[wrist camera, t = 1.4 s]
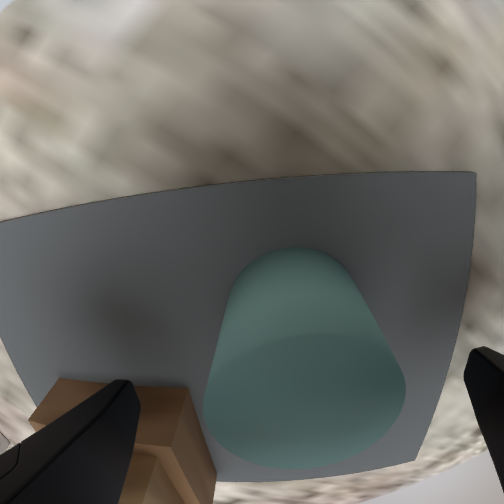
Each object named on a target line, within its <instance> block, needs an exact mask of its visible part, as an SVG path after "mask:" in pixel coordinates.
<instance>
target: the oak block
mask: <svg viewBox="0 0 504 504" xmlns="http://www.w3.org/2000/svg"><path fill="white" fill-rule="evenodd" d="M118 504H185V503H184V502H183V500H182V498H181V497H180V495H179V493H178V492H177V490H176V489H175V487H174V485H173V484H172V482H171V480H170V478H169V477H168V475H167V473H166V472H165V470H164V468H163V466H162V464H161V463H160V461H159V459H158V457H156V456H148V455H140V454H132V458H131V462H130V465H129V469H128V472H127V475H126V479H125V482H124V486H123V489H122V493H121V496H120V500H119V503H118Z"/></svg>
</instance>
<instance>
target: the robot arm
mask: <svg viewBox="0 0 504 504" xmlns="http://www.w3.org/2000/svg"><path fill="white" fill-rule="evenodd" d="M464 382H465V385H466V388H467V391H468V394H469V397H470V400H471V403H472V406H473V409H474V413H475V416H476V419H477V422H478V425H479V427H480V430H481V432H482V435H483V437H484V440H485V442H486V445H487V447H488V450H489V452H490V455H491V458H492V460H493V463H494V465H495V469H496V471H497V474H498V477H499V480H500V483H501V486H502V489H503V492H504V355H503V354H501V353H498V352H496V351H494V350H492V349H490V348H487V347H485V346H482V347H478V348H475V349H473V350H472V351H471V352H470V354H469V357H468V361H467V364H466V367H465V370H464ZM140 412H141V403H140V400H139V398H138V395H137V393H136V390H135V388H134V386H133V383H132V382H131V381H130V380H125V379H116V380H114V381H112V382H111V383H109V384H108V385H106V386H105V387H103V388H102V389H100V390H99V391H98V392H96V393H95V394H93V395H92V396H90V397H89V398H87V399H86V400H84V401H83V402H81V403H80V404H78V405H77V406H75V407H74V408H72V409H71V410H69V411H68V412H66V413H65V414H63V415H62V416H60V417H59V418H57V419H56V420H54V421H52V422H51V423H49V424H48V425H46V426H45V427H43V428H42V429H40V430H39V431H37V432H36V433H34V434H33V435H31V436H29V437H28V438H26V439H25V440H23V441H22V442H21V443H18V444H17V445H15V446H14V447H12V448H11V449H9V450H7V451H6V452H4V453H2V454H1V455H0V504H118V503H119V500H120V496H121V493H122V489H123V486H124V482H125V479H126V475H127V472H128V469H129V465H130V462H131V458H132V454H133V449H134V444H135V438H136V433H137V427H138V422H139V417H140Z"/></svg>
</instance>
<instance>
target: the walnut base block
mask: <svg viewBox="0 0 504 504" xmlns="http://www.w3.org/2000/svg"><path fill="white" fill-rule="evenodd" d="M106 385H108V383H98V382H89V381H81V380H73V379H65V378H59V379H58V380H57V381H56V383H55V384H54V385H53V387H52V388H51V389H50V391H49V392H48V393H47V395H46V396H45V397H44V399H43V400H42V402H41V403H40V404H39V406H38V407H37V408H36V410H35V411H34V413H33V414H32V415H31V417H30V418H29V420H28V421H29V422H30V424H31V425H32V427H33V428H34V430H35V431H36V432H37V431H39V430H40V429H42V428H43V427H45V426H46V425H48V424H49V423H51V422H52V421H54V420H56V419H57V418H59V417H60V416H62V415H63V414H65V413H66V412H68V411H69V410H71V409H72V408H74V407H75V406H77V405H78V404H80V403H81V402H83V401H84V400H86V399H87V398H89V397H90V396H92V395H93V394H95V393H96V392H98V391H99V390H100V389H102V388H103V387H105V386H106ZM134 388H135V390H136V393H137V395H138V398H139V400H140V403H141V412H140V417H139V422H138V427H137V433H136V438H135V444H134V449H133V454H140V455H148V456H156V457H158V459H159V461H160V463H161V464H162V466H163V468H164V470H165V472H166V473H167V475H168V477H169V478H170V480H171V482H172V484H173V485H174V487H175V489H176V490H177V492H178V493H179V495H180V497H181V498H182V500H183V502H184V503H185V504H213V497H214V491H215V484H216V478H217V472H216V469H215V466H214V463H213V461H212V458H211V455H210V452H209V449H208V447H207V444H206V441H205V438H204V435H203V432H202V429H201V426H200V423H199V420H198V417H197V414H196V411H195V407H194V404H193V401H192V398H191V395H190V391H189V388H172V387H148V386H134Z"/></svg>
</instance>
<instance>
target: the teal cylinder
mask: <svg viewBox="0 0 504 504" xmlns="http://www.w3.org/2000/svg"><path fill="white" fill-rule="evenodd" d="M405 396H406V383H405V379H404V375H403V373H402V370H401V368H400V366H399V364H398V362H397V360H396V358H395V356H394V354H393V352H392V350H391V348H390V347H389V345H388V343H387V341H386V339H385V337H384V335H383V333H382V331H381V329H380V328H379V326H378V324H377V322H376V320H375V318H374V316H373V315H372V313H371V311H370V309H369V307H368V305H367V304H366V302H365V300H364V298H363V296H362V295H361V293H360V291H359V289H358V287H357V286H356V284H355V282H354V280H353V279H352V277H351V275H350V274H349V272H348V271H347V270H346V268H345V267H344V266H343V265H342V264H341V263H340V262H338V261H337V260H336V259H334V258H333V257H331V256H329V255H327V254H326V253H323V252H320V251H318V250H314V249H310V248H302V247H289V248H282V249H278V250H274V251H271V252H269V253H266V254H264V255H262V256H260V257H258V258H257V259H255V260H254V261H252V262H251V263H250V264H248V265H247V266H246V267H245V268H244V269H243V270H242V271H241V273H240V274H239V275H238V277H237V278H236V280H235V282H234V283H233V285H232V288H231V291H230V294H229V298H228V302H227V306H226V310H225V314H224V318H223V322H222V326H221V330H220V334H219V338H218V342H217V346H216V350H215V354H214V358H213V362H212V367H211V371H210V375H209V379H208V383H207V387H206V391H205V396H204V401H203V415H204V420H205V423H206V425H207V427H208V429H209V431H210V433H211V434H212V436H213V437H214V438H215V439H216V440H217V442H218V443H219V444H220V445H222V446H223V447H224V448H225V449H226V450H228V451H229V452H231V453H232V454H234V455H236V456H238V457H240V458H242V459H244V460H246V461H249V462H251V463H254V464H258V465H261V466H266V467H271V468H279V469H309V468H316V467H321V466H326V465H330V464H334V463H337V462H340V461H343V460H345V459H348V458H350V457H352V456H354V455H356V454H358V453H360V452H362V451H364V450H365V449H367V448H369V447H370V446H371V445H373V444H374V443H376V442H377V441H378V440H379V439H380V438H381V437H383V436H384V435H385V434H386V433H387V431H388V430H389V429H390V428H391V427H392V426H393V424H394V423H395V421H396V420H397V418H398V416H399V414H400V413H401V410H402V408H403V405H404V401H405Z"/></svg>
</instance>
